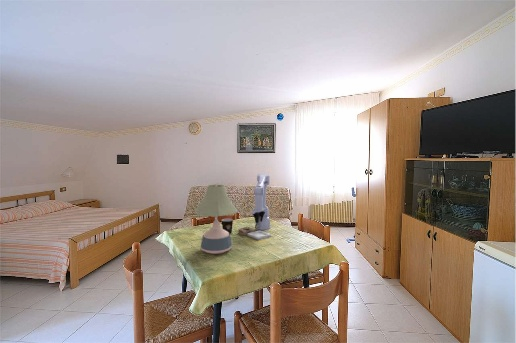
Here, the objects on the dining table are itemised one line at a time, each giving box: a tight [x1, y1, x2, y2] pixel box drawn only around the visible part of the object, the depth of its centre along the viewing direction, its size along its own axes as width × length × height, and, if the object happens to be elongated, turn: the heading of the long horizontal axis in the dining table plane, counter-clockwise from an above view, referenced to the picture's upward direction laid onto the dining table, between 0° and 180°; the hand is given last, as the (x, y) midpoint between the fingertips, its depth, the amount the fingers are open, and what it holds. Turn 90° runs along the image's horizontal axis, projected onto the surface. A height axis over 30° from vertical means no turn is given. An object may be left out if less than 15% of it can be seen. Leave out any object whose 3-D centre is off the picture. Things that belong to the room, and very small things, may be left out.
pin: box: [254, 216, 261, 230], centre depth 180 cm, size 4×4×9 cm
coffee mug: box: [219, 218, 234, 234], centre depth 188 cm, size 12×9×10 cm
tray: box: [247, 230, 272, 241], centre depth 180 cm, size 12×12×2 cm
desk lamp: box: [194, 182, 239, 255], centre depth 152 cm, size 26×28×42 cm
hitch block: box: [237, 226, 256, 237], centre depth 187 cm, size 10×8×3 cm
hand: (258, 222), depth 180 cm, fingers closed on pin, 4 cm apart
